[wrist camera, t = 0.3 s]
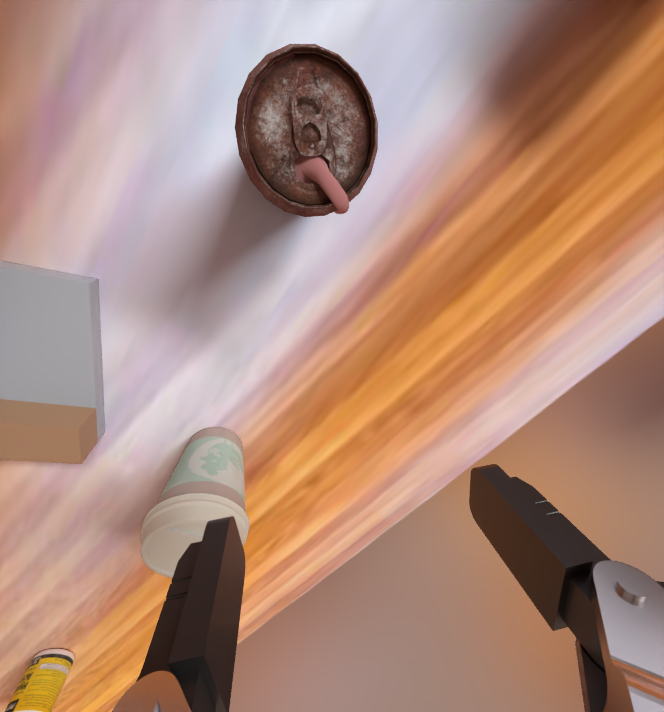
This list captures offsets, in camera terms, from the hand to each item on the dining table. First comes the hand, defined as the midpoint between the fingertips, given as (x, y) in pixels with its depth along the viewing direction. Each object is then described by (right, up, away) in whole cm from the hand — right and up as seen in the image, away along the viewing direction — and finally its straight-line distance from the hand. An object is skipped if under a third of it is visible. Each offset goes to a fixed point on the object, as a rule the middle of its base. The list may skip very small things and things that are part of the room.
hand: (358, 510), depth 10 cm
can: (-4, +20, +15) cm, 25 cm away
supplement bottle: (-43, -40, +37) cm, 70 cm away
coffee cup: (-14, -5, +25) cm, 29 cm away
